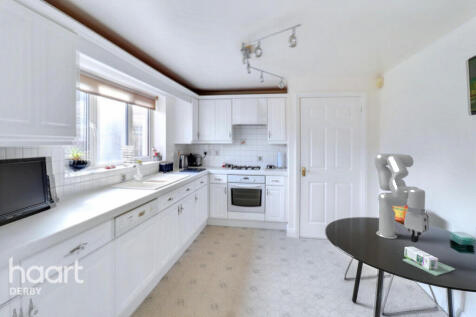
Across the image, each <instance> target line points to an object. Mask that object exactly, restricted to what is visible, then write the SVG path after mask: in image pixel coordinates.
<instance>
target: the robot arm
mask: <svg viewBox="0 0 476 317" xmlns="http://www.w3.org/2000/svg"><path fill="white" fill-rule="evenodd" d="M374 165H375V168H376V170H377V175H378V184H379V188H380V190H382V191H384V192H381V193H379V194H378V197H377V198H378V199H377V200H378V204H379V205H378V206H379V211H378V212H379V217H378V230H377V231H376V232H375V234H376V235H377V236H378V237H381V238H385V239H391V240H392V239H393V240H394V239H397V238H398V235H397V234H396V233H399V229H396V211H395V210H394V208H393V207H406V206H407V210H406V211H405V215H404V219H403V220H404V221H403V223H404V224H403V225H404V230H407V231H408V232H409V234H410V239H411V243H414V244H415V243H418V242H419V236H426V235H427V232H428V230H429V223H428V216H427V213H428V211H427V210H426V206H425V205H426V191H425V190H424V189H421V188H419V187H418V186H410V185H409V186H408V185H407V184H406V181H405V180H404V179H405V178H406V177H407V176H409V170H408V168H411V167H412V166H413V165H414V159H413V157H412V156H411V155H410V154H405V153H404V154H403V153H379V154H377V155H375V158H374ZM385 191H386V192H385Z"/></svg>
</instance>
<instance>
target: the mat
mask: <svg viewBox="0 0 476 317" xmlns="http://www.w3.org/2000/svg"><path fill="white" fill-rule="evenodd" d="M402 261H403V262H405V263H407V264H409V265H412V266H414V267H415V268H418V269H421V270H422V271H425V272H427V273H429V274H431V275H433V276H435V277H437V276H441V275H443V274H447V273H450V272H453V271H455V270H456V267H455V268H454V267H452V266H449V265H447V264H444V263H443V262H440V261H438V269H434V270H428V269H426V268H425V267H423V266H421V265H419V264H417V263H416V262H414V261H412V260H410V259H408V258H403V259H402Z"/></svg>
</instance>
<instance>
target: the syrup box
mask: <svg viewBox="0 0 476 317" xmlns="http://www.w3.org/2000/svg"><path fill="white" fill-rule="evenodd" d="M404 257H405V259H407V258H408V259H410V260H412V261H414V262H416V263H417V264H419V265H421V266H423V267H425V268H426V269H428V270H434V269H438V262H439V258H438V257H435V256H434V255H432V254H429V253H428V252H425V251H423V250H422V249H419V248H417V247H415V246H405V247H404Z"/></svg>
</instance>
